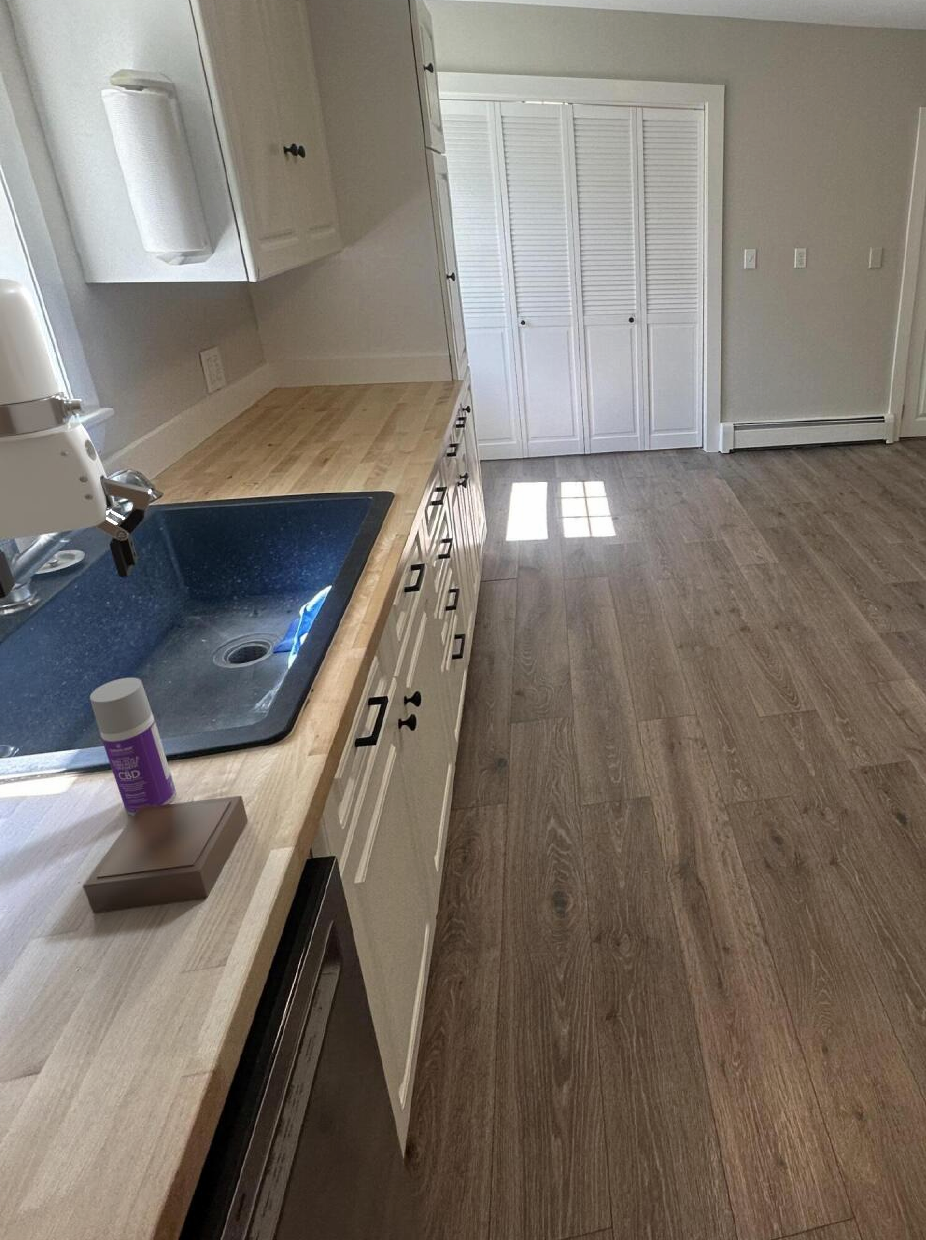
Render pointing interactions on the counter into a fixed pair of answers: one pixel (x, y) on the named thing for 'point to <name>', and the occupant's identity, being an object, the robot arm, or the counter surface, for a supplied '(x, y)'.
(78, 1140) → the counter surface
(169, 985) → the counter surface
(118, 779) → the container
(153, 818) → the riser
